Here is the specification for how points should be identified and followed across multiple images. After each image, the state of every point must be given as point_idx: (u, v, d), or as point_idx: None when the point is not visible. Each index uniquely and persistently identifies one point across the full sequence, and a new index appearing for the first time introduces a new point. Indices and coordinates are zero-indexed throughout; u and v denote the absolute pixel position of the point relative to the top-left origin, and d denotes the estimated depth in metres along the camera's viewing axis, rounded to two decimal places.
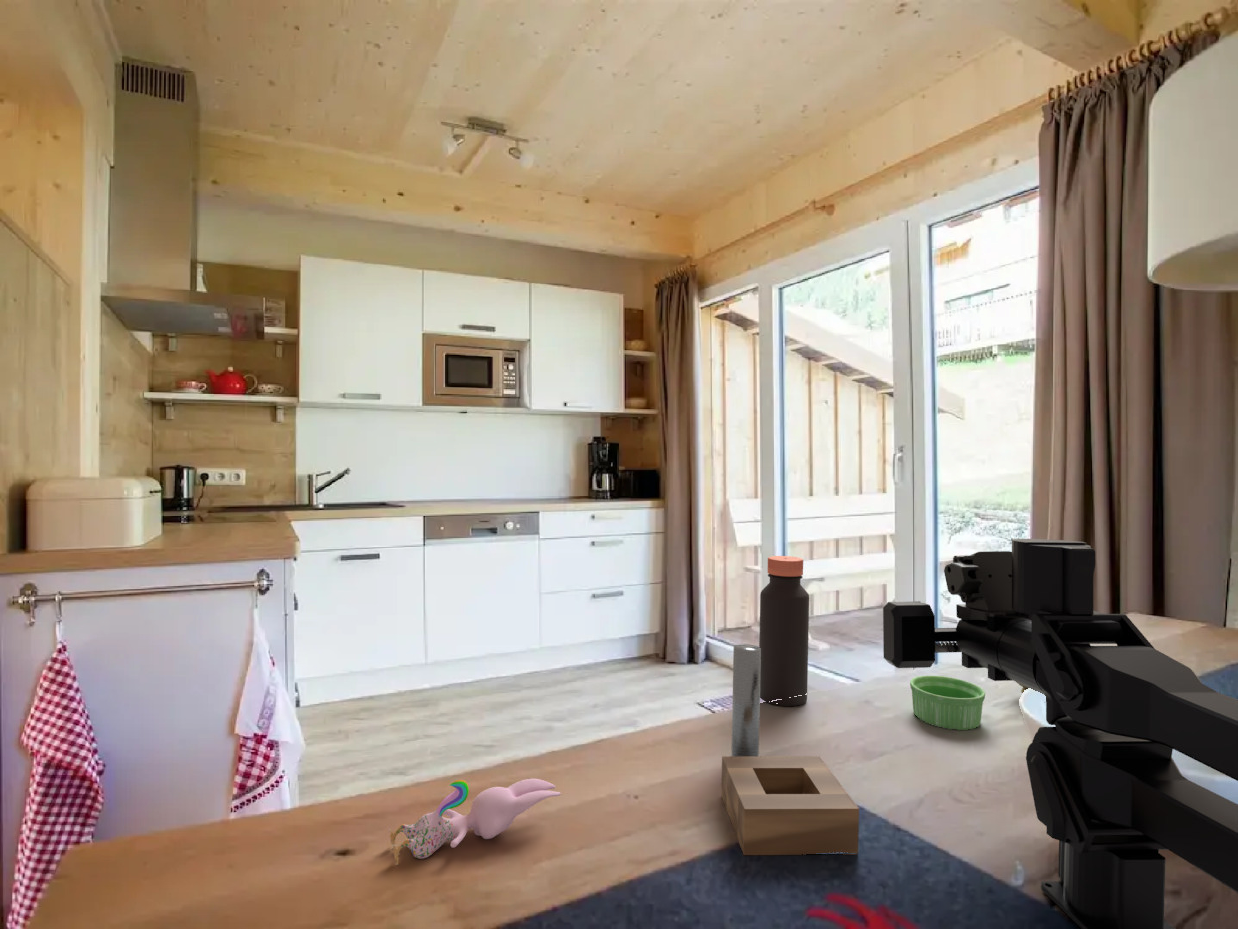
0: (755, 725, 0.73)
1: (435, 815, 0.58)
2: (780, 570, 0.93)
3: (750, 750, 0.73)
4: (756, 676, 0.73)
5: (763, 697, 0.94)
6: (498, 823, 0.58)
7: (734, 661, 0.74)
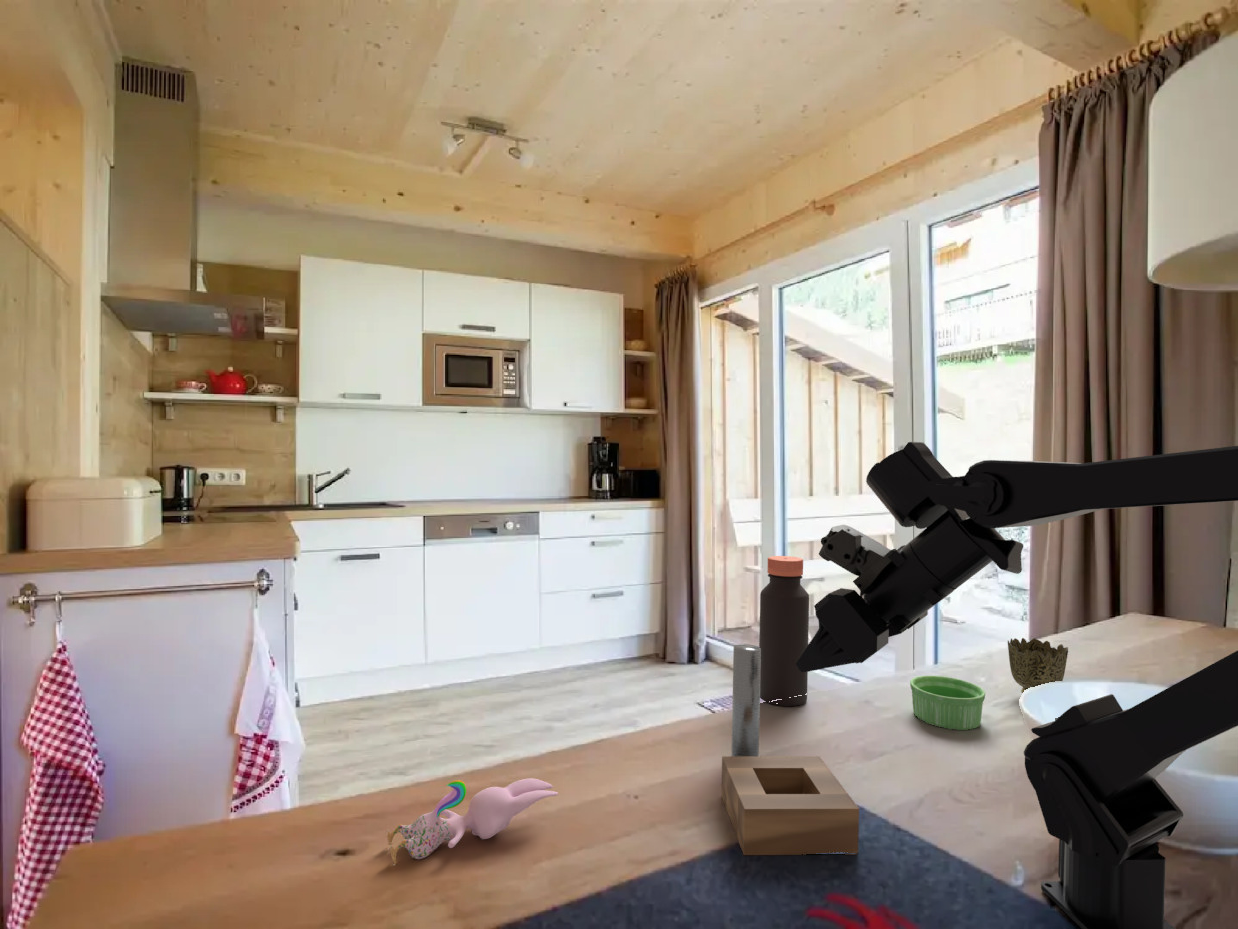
0: (755, 725, 0.73)
1: (432, 815, 0.58)
2: (780, 570, 0.93)
3: (750, 750, 0.73)
4: (756, 676, 0.73)
5: (763, 697, 0.94)
6: (496, 823, 0.58)
7: (734, 661, 0.74)
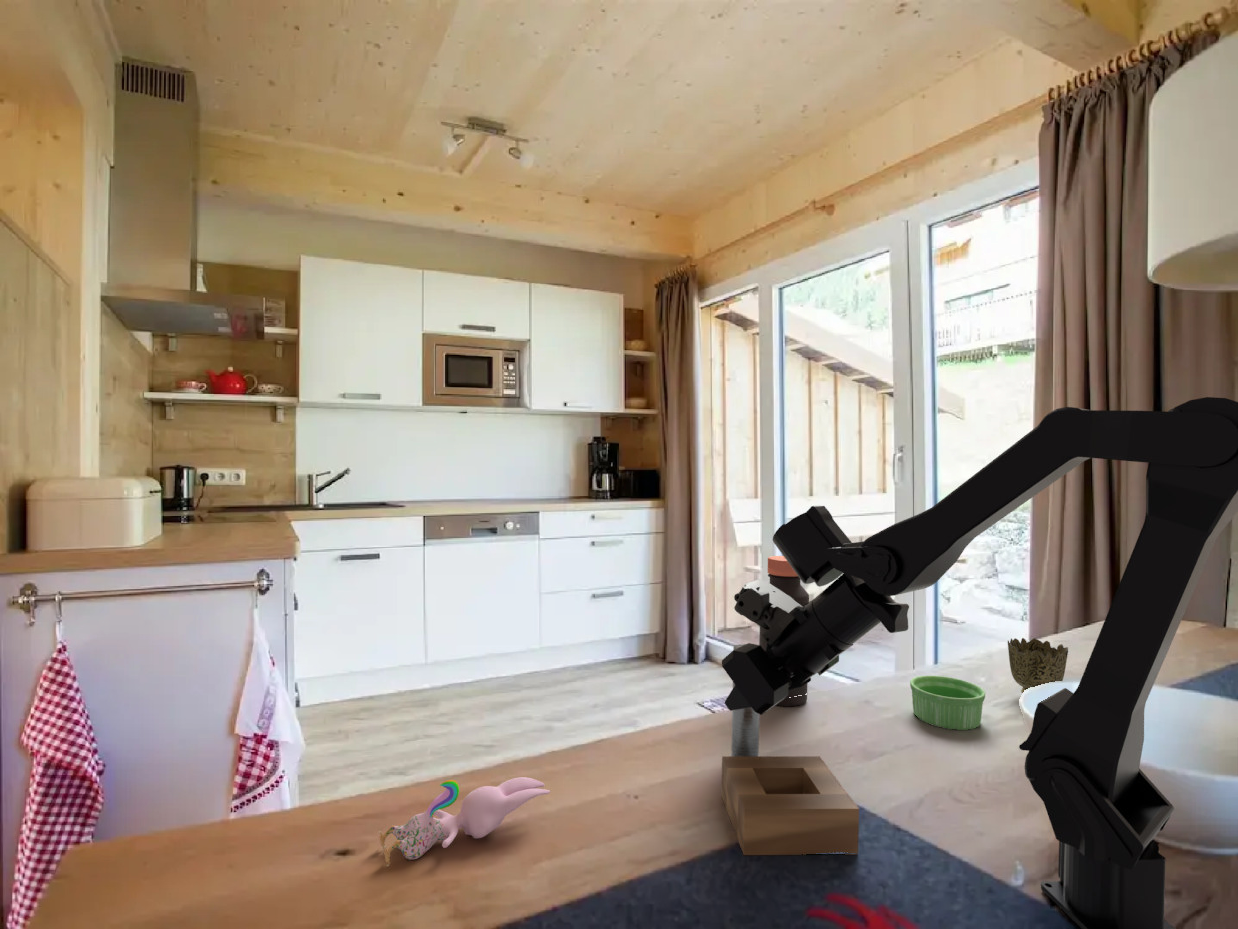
0: (755, 725, 0.73)
1: (426, 816, 0.57)
2: (780, 570, 0.93)
3: (749, 750, 0.73)
4: None
5: None
6: (489, 822, 0.58)
7: None
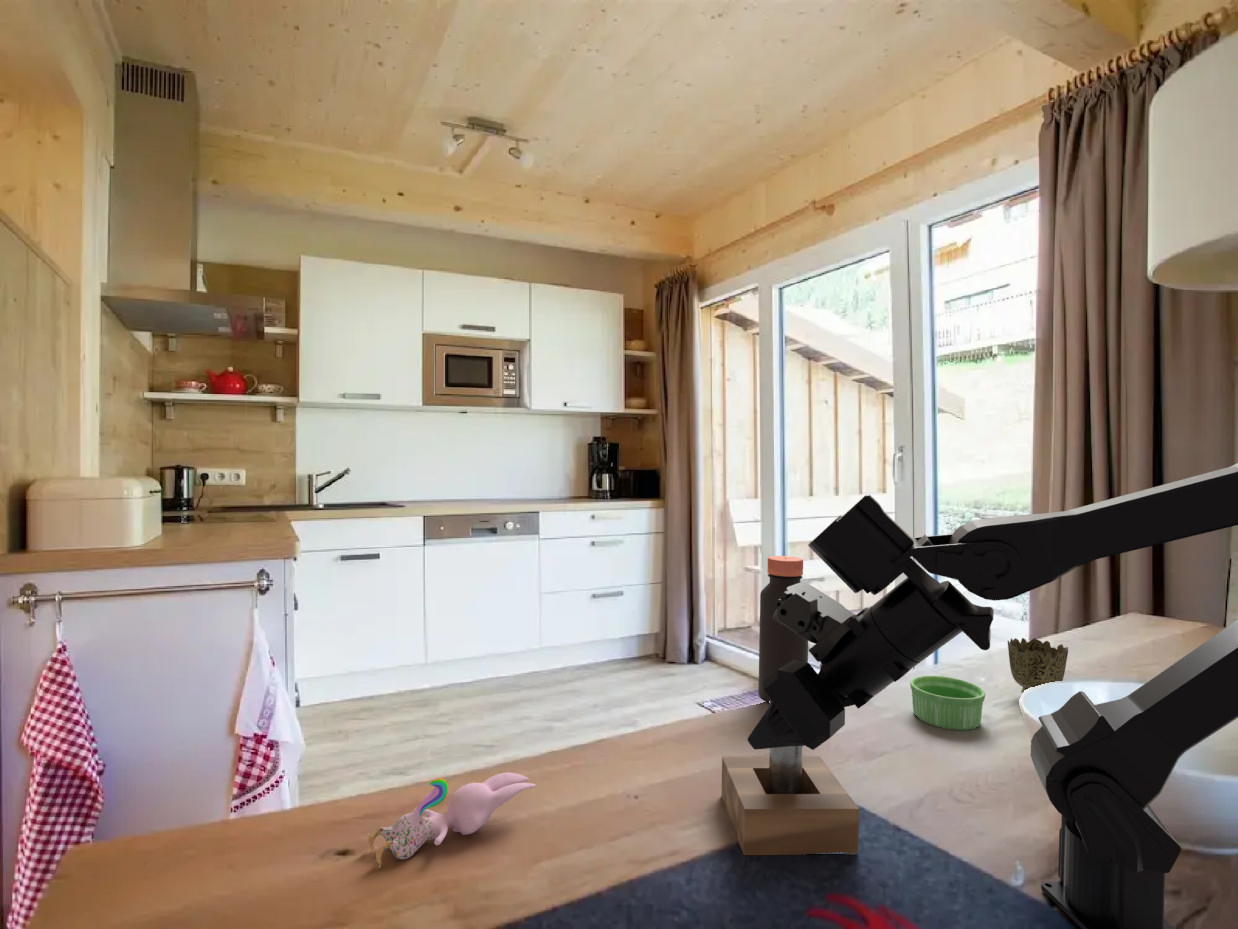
0: (798, 778, 0.61)
1: (415, 815, 0.58)
2: (780, 570, 0.93)
3: None
4: None
5: (763, 697, 0.94)
6: (479, 818, 0.59)
7: None
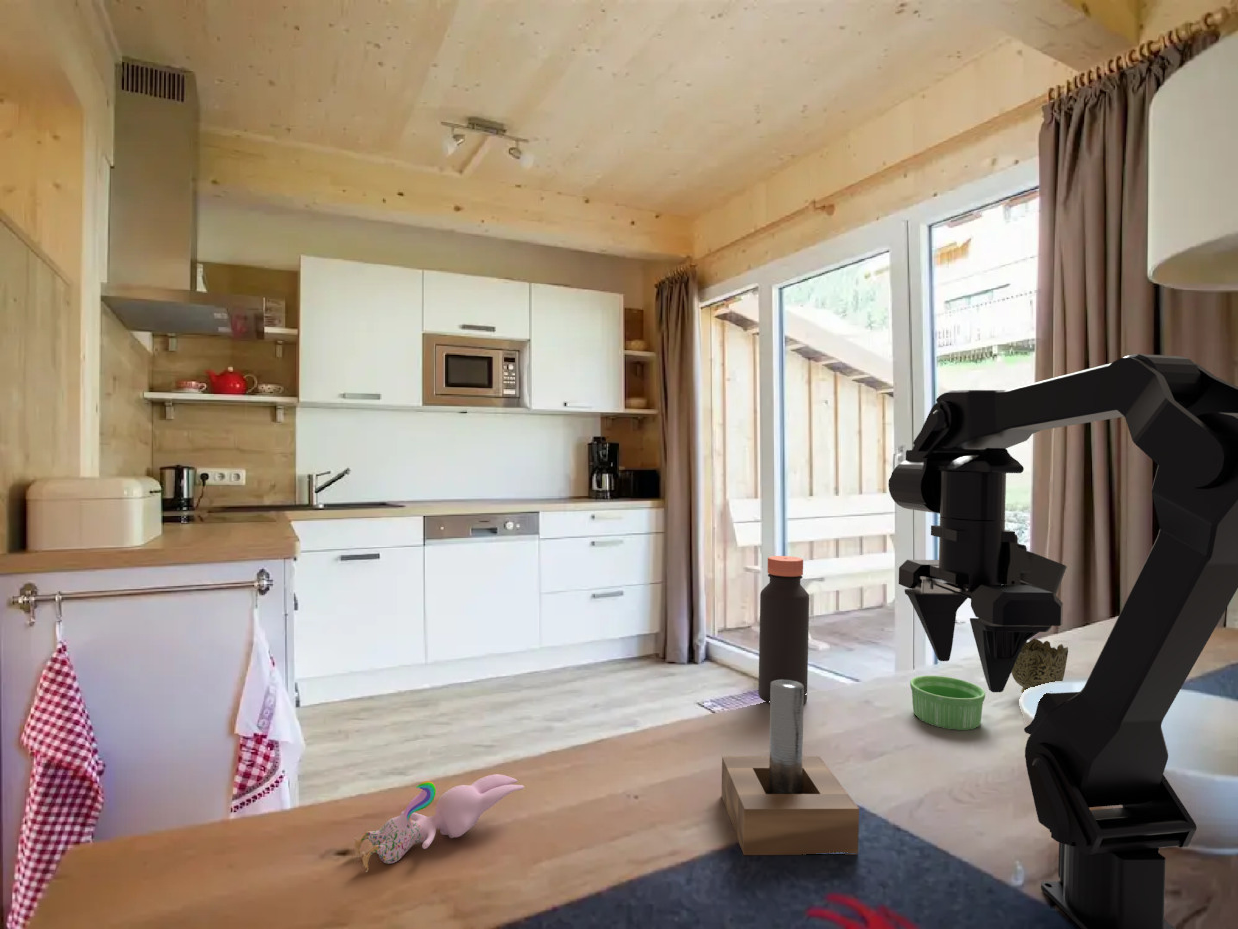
0: (798, 778, 0.61)
1: (403, 818, 0.57)
2: (780, 570, 0.93)
3: None
4: (798, 719, 0.61)
5: (763, 697, 0.94)
6: (467, 820, 0.58)
7: (772, 701, 0.62)
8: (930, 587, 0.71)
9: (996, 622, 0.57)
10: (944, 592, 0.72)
